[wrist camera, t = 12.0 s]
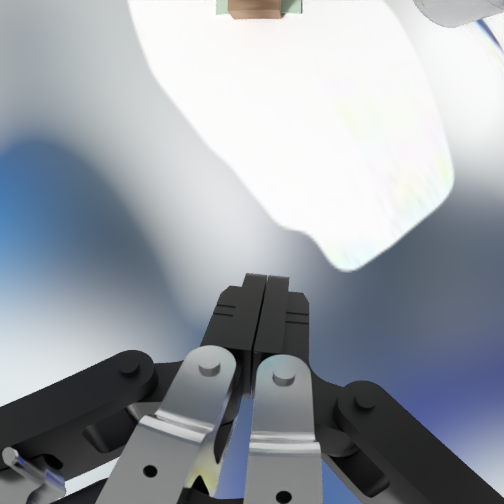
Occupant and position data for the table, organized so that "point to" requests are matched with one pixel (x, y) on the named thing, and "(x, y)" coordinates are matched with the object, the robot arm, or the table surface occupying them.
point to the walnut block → (254, 9)
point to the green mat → (288, 5)
